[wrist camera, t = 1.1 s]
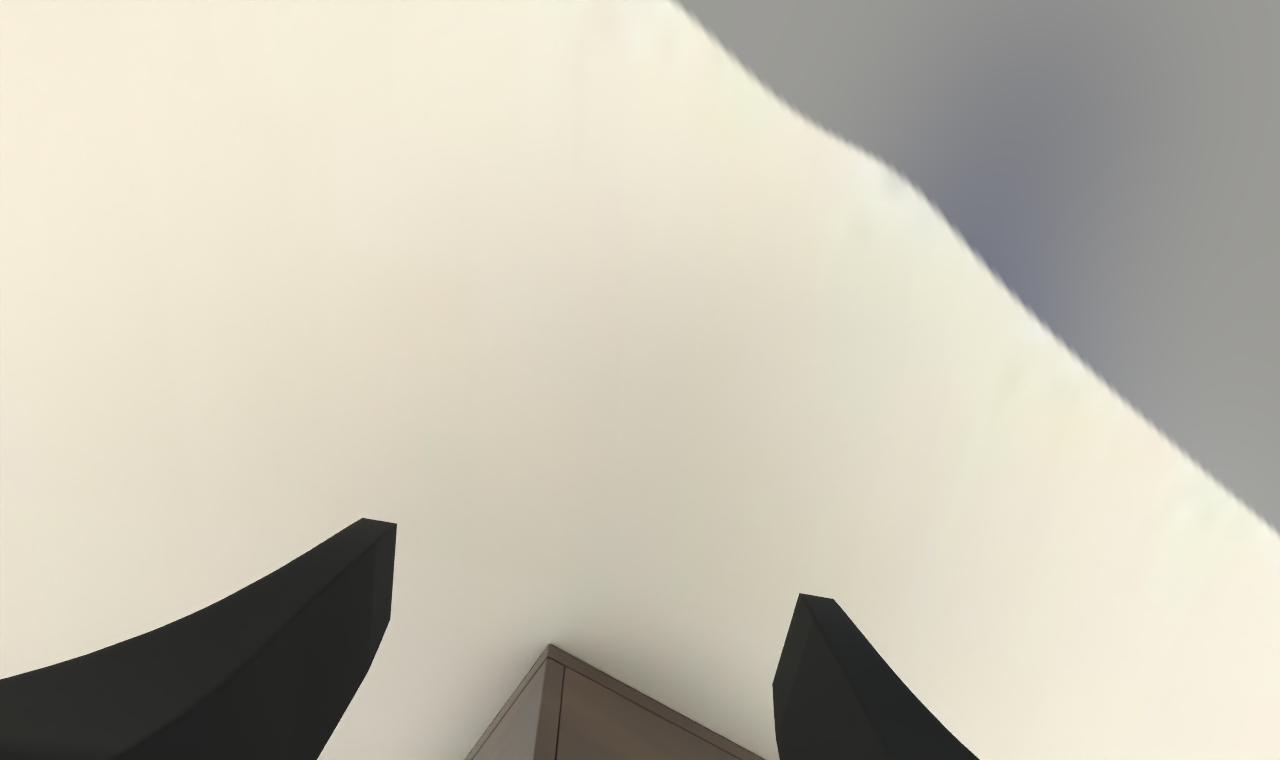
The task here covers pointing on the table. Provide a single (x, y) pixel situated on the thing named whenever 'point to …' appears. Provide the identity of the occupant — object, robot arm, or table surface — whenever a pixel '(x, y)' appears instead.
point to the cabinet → (592, 721)
